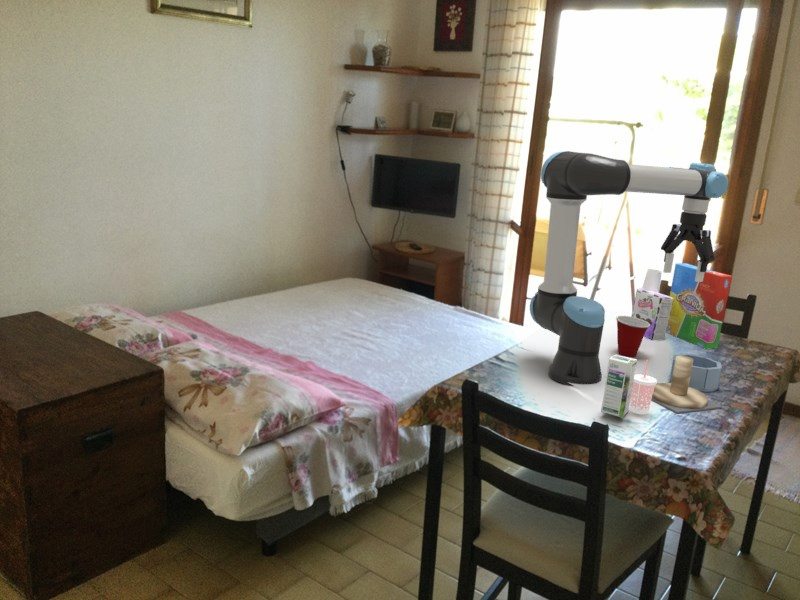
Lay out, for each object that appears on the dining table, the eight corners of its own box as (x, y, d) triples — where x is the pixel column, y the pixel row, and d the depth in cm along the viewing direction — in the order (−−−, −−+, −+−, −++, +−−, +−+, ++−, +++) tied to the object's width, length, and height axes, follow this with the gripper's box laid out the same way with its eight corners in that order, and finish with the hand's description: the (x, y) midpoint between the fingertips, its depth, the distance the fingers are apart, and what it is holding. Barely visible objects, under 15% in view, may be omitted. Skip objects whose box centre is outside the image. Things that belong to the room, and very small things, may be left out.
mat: (676, 413, 176) (677, 412, 175) (634, 391, 190) (634, 389, 190) (722, 408, 182) (722, 406, 182) (677, 386, 196) (677, 385, 196)
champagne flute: (634, 330, 255) (647, 267, 250) (652, 334, 252) (665, 271, 247) (630, 333, 250) (643, 269, 244) (649, 337, 246) (662, 273, 241)
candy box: (627, 330, 252) (636, 287, 249) (640, 331, 254) (649, 288, 251) (651, 341, 240) (660, 296, 236) (665, 342, 242) (674, 297, 238)
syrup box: (600, 412, 173) (608, 358, 169) (607, 405, 178) (615, 353, 174) (622, 418, 170) (631, 363, 166) (629, 411, 175) (637, 358, 171)
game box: (661, 335, 251) (674, 263, 245) (673, 334, 253) (685, 262, 247) (706, 352, 233) (720, 275, 226) (717, 351, 235) (732, 275, 228)
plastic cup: (640, 362, 216) (646, 326, 213) (606, 354, 222) (612, 319, 219) (648, 354, 225) (654, 320, 222) (615, 347, 231) (620, 313, 228)
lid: (677, 411, 176) (684, 369, 173) (636, 390, 189) (643, 350, 187) (719, 406, 182) (727, 365, 179) (677, 386, 195) (684, 348, 193)
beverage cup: (654, 411, 176) (663, 360, 173) (645, 417, 171) (654, 365, 168) (632, 404, 180) (640, 354, 177) (622, 410, 175) (630, 358, 172)
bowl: (693, 393, 191) (697, 370, 190) (659, 377, 203) (663, 355, 201) (727, 390, 196) (731, 367, 195) (692, 374, 208) (696, 353, 206)
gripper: (735, 218, 208) (721, 285, 213) (673, 207, 230) (663, 268, 235) (717, 217, 205) (704, 285, 210) (656, 206, 227) (646, 269, 232)
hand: (682, 277), depth 222 cm, fingers open, 13 cm apart
